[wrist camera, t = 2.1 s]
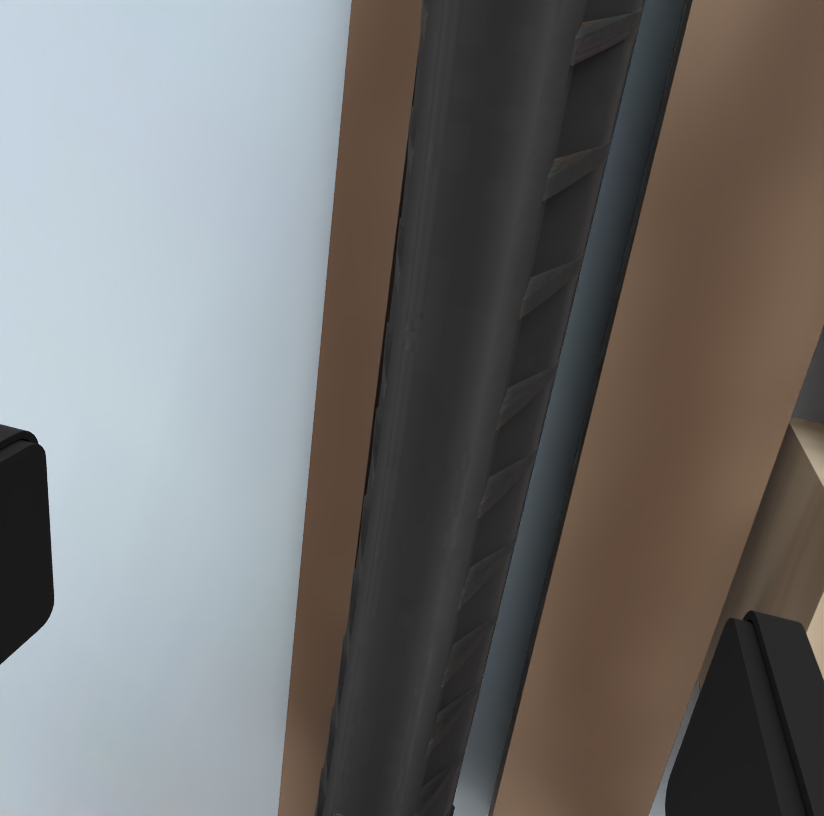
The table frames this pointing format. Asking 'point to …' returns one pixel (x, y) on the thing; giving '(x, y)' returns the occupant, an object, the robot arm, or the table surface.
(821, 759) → the robot arm
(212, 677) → the table surface
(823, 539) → the offcut
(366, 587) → the magazine
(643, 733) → the rack
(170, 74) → the table surface
